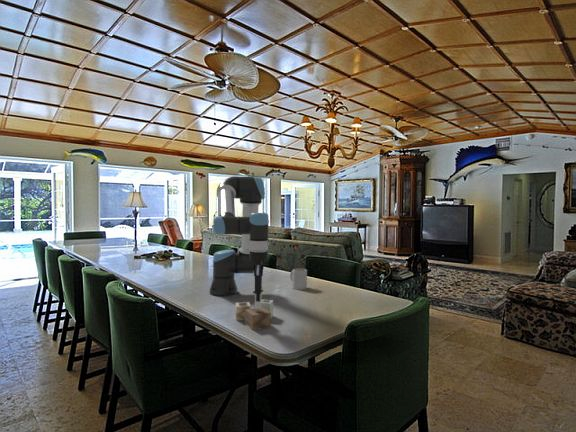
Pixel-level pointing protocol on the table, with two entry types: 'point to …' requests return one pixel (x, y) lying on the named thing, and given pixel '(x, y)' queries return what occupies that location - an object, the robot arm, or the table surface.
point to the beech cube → (241, 310)
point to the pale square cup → (268, 306)
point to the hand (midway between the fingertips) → (258, 308)
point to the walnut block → (258, 318)
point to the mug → (299, 278)
